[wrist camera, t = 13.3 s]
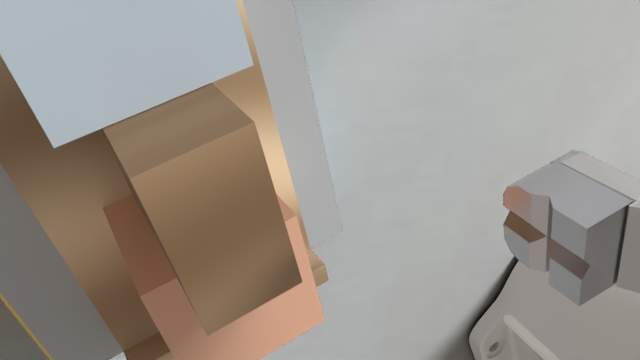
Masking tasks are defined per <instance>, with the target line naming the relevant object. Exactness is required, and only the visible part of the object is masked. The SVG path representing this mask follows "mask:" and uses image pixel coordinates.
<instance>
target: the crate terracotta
mask: <svg viewBox="0 0 640 360" xmlns="http://www.w3.org/2000/svg"><path fill="white" fill-rule="evenodd" d="M276 195H277V194H276ZM277 198H278V202H279V205H280V208H281V212H282V215H283V218H284V222H285V225H286V228H287V232H288V235H289V238H290V242H291V245H292V248H293V252H294V255H295V258H296V262H297V265H298V268H299V272H300V275H301V278H302V283H300V284H299V285H297V286H295V287H293V288H292V289H290V290H288V291H286V292H284V293H283V294H281V295H279V296H277V297H276V298H274V299H272V300H270V301H269V302H267V303H265V304H263V305H262V306H260V307H258V308H256V309H255V310H253V311H251V312H249V313H247V314H246V315H244V316H242V317H240V318H239V319H237V320H235V321H233V322H232V323H230V324H228V325H226V326H225V327H223V328H221V329H219V330H217V331H216V332H214V333H212V334H210V335H209V336H207V334H206V332H205V330H204V328H203V327H202V325H201V323H200V321H199V319H198V317H197V315H196V313H195V311H194V309H193V308H192V306H191V304H190V302H189V300H188V298H187V296H186V294H185V292H184V290H183V288H182V287H181V285H180V283H179V281H178V279H177V277H176V275H175V273H174V271H173V269H172V268H171V266H170V264H169V262H168V260H167V258H166V256H165V254H164V252H163V250H162V249H161V247H160V245H159V243H158V241H157V239H156V237H155V235H154V233H153V231H152V229H151V228H150V226H149V224H148V222H147V220H146V218H145V216H144V214H143V212H142V210H141V209H140V207H139V205H138V203H137V201H136V199H135V197H134V195H133V194H132V195H130V196H128V197H125V198H123V199H121V200H119V201H117V202H115V203H112V204H110V205H108V206H106V207H104V208H103V211H104V213H105V216H106V218H107V220H108V223H109V225H110V227H111V230H112V232H113V235H114V237H115V239H116V242H117V244H118V246H119V249H120V251H121V253H122V256H123V258H124V261H125V263H126V265H127V268H128V270H129V272H130V275H131V277H132V279H133V282H134V284H135V287H136V289H137V291H138V294H139V296H140V298H141V300H142V302H143V303H144V305H145V307H146V309H147V310H148V312H149V314H150V316H151V318H152V319H153V321H154V323H155V325H156V326H157V328H158V330H159V332H160V333H161V335H162V337H163V339H164V341H165V342H166V344H167V346H168V348H169V349H170V351H171V353H172V355H173V357H174V358H175V360H259V359H261V358H263V357H264V356H266V355H268V354H270V353H271V352H273V351H275V350H276V349H278V348H280V347H281V346H283V345H285V344H286V343H288V342H290V341H291V340H293V339H295V338H296V337H298V336H300V335H301V334H303V333H305V332H306V331H308V330H310V329H311V328H313V327H315V326H317V325H318V324H320V323H322V322H323V321H325V317H324V314H323V310H322V306H321V303H320V299H319V295H318V292H317V288H316V284H315V281H314V277H313V274H312V270H311V266H310V263H309V259H308V255H307V252H306V248H305V244H304V241H303V237H302V233H301V230H300V226H299V223H298V219H297V215H296V214H295V213H294V212H293V211H292V210H291V209H290V208H289V207H288V206H287V205H286V204H285V203H284V202H283V200H282V199H281V198H280V197H279V196H278V195H277Z"/></svg>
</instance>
